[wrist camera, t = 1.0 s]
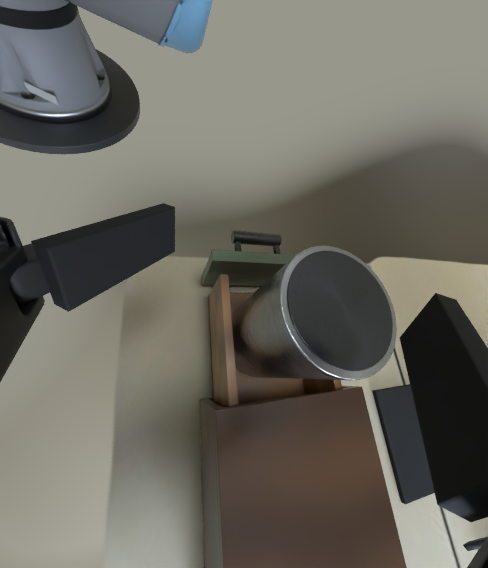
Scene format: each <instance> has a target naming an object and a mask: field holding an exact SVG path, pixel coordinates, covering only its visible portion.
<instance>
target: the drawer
mask: <svg viewBox="0 0 488 568" xmlns="http://www.w3.org/2000/svg"><path fill="white" fill-rule="evenodd" d="M231 241H232V243H235V251H225V250H212V251H211V254H210V256H209V259H208V262H207V264H206V267H205V269H204V272H203V275H202V285H214V287H213V288H212V290H211V292H210V294H209V307H210V328H211V349H212V370H213V391H214V403H216V404H218V405H220V406H222V407H228V406H235V405H241V404H247V403H254V402H260V401H266V400H273V399H279V398H285V397H292V396H298V395H305V394H311V393H317V392H324V391H330V390H336V389H342V385H341V381H340V380H331V379H293V378H259V377H253V376H249V375H247V374H245V373H243V372H241V371H240V370H239V369H238V368H237V367H236V366H235V353H234V341H233V328H232V316H231V314H232V313H233V312H234V311H235V310H236V309H237V308H238V307H239V306H240V305H242V304H243V303H244V302H245V301H246V300H247V299H248V298H249V297H250V296H251V295H253V294H254V293H230V290H229V285H239V286H262V285H264V284H265V283H266V282H267V281H268V280H269V279H270V278H271V277H272V276H274V275H275V274H276V273H277V272H278V271H279V270H280V269H281V268H282V267H283V266H285V265H286V264H287V263H288V262H289V261H290V260H291V259H292V258H293V257H294V256H296V255H286V254H280V249H279V246H280V244H281V236H280V235H276V234H266V233H256V232H246V231H235V230H233V231H232V235H231ZM241 244H249V245H262V246H273V250H274V254H271V253H270V254H269V253H256V252H241Z"/></svg>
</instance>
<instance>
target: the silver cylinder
mask: <svg viewBox="0 0 488 568" xmlns="http://www.w3.org/2000/svg"><path fill="white" fill-rule="evenodd" d="M231 316H232V328H233V341H234V353H235V366H236V367H237V368H238V369H239V370H240V371H241V372H243V373H245V374H247V375H249V376H253V377H259V378H293V379H331V380H360V379H364V378H367V377H370V376H372V375H374V374H375V373H377V372H378V371H380V370H381V369H382V368H383V367H384V366H385V365H386V363H387V362H388V360H389V359H390V357H391V355H392V352H393V349H394V346H395V341H396V330H397V329H396V318H395V313H394V309H393V305H392V303H391V300H390V297H389V295H388V293H387V291H386V289H385V287H384V286H383V284H382V282H381V281H380V279H379V278H378V277H377V275H376V274H375V273H374V272H373V271H372V270H371V269H370V268H369V267H368V266H367V265H366V264H365V263H364V262H363V261H361V260H360V259H359V258H357V257H356V256H355V255H353V254H351V253H349V252H347V251H345V250H342V249H340V248H336V247H331V246H315V247H311V248H308V249H305V250H303V251H301V252H300V253H298V254H297V255H296V256H294V257H293V258H292V259H291V260H290V261H289V262H288V263H287V264H286V265H285V266H283V267H282V268H281V269H280V270H279V271H278V272H277V273H276V274H275V275H274V276H272V277H271V278H270V279H269V280H268V281H267V282H266V283H265V284H264V285H262V286H261V287H260V288H259V289H258V290H257V291H256V292H255V293H254V294H253V295H251V296H250V297H249V298H248V299H247V300H246V301H245V302H244V303H243V304H242V305H240V306H239V307H238V308H237V309H236V310H235V311H234V312H233V313H232V314H231Z"/></svg>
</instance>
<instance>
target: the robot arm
mask: <svg viewBox="0 0 488 568" xmlns="http://www.w3.org/2000/svg"><path fill="white" fill-rule="evenodd" d="M211 4H212V0H0V108H1V109H3V110H5V111H7V112H9V113H11V114H13V115H16V116H19V117H22V118H25V119H28V120H33V121H37V122H43V123H53V124H68V123H77V122H82V121H85V120H89V119H91V118H93V117H95V116H97V115H99V114H100V113H102V112H103V111H104V110H105V109H106V108H107V106H108V105H109V102H110V99H111V90H110V85H109V80H108V76H107V73H106V71H105V68H104V66H103V64H102V62H101V60H100V58H99V56H98V54H97V52H96V49H95V47H94V45H93V43H92V41H91V39H90V37H89V35H88V33H87V31H86V29H85V27H84V25H83V22H82V21H81V18H80V16H79V12H78V8H77V6H79V7H81V8H83V9H85V10H87V11H90V12H92V13H94V14H96V15H98V16H101V17H102V18H105V19H107V20H109V21H111V22H113V23H115V24H118V25H120V26H122V27H124V28H126V29H128V30H130V31H132V32H135V33H137V34H139V35H141V36H143V37H145V38H147V39H150V40H152V41H154V42H156V43H158V44H159V45H160V46H165V45H166V46H168V47H171V48H174V49H176V50H179V51H182V52H185V53H193V52H195V51H197V50H198V49H199V48H200V47H201V45H202V42H203V39H204V35H205V30H206V26H207V22H208V17H209V13H210V9H211ZM31 242H32V244H28V245H25V246H22V243H21V241H20V238H19V236H18V234H17V231H16V228H15V226H14V223H13V222H12V221H11V220H10V219H7V218H2V217H0V381H1V380H2V378H3V376H4V374H5V373H6V371H7V369H8V367H9V365H10V364H11V362H12V360H13V358H14V357H15V355H16V353H17V351H18V350H19V348H20V346H21V344H22V342H23V341H24V339H25V337H26V335H27V334H28V332H29V330H30V328H31V326H32V325H33V323H34V321H35V319H36V317H37V316H38V314H39V312H40V310H41V309H42V307H43V305H44V301H45V300H44V298H43V295H45V294H47V293H49V292H50V293H51V295H52V298H53V301H54V304H56V305H57V306H59V307H61V308H63V309H65V310H67V311H70V310H72V309H74V308H76V307H78V306H79V305H81V304H83V303H85V302H86V301H88V300H90V299H92V298H93V297H95V296H97V295H99V294H100V293H102V292H104V291H106V290H108V289H109V288H111V287H113V286H114V285H116V284H118V283H120V282H122V281H123V280H125V279H127V278H129V277H131V276H132V275H134V274H136V273H138V272H139V271H141V270H143V269H145V268H146V267H148V266H150V265H152V264H153V263H155V262H157V261H159V260H161V259H162V258H164V257H166V256H168V255H169V254H171V253H173V252H174V251H175V207H173V206H170V205H167V204H160V205H156V206H153V207H149V208H146V209H142V210H139V211H135V212H132V213H128V214H125V215H121V216H118V217H114V218H111V219H107V220H104V221H100V222H97V223H93V224H90V225H86V226H83V227H79V228H76V229H72V230H68V231H65V232H61V233H58V234H55V235H51V236H47V237H44V238H40V239H37V240H33V241H31ZM400 341H401V346H402V350H403V354H404V359H405V363H406V368H407V372H408V376H409V381H410V385H411V390H412V394H413V399H414V403H415V407H416V412H417V416H418V421H419V425H420V429H421V434H422V438H423V443H424V447H425V452H426V456H427V460H428V465H429V469H430V474H431V478H432V482H433V487H434V491H435V496H436V500H437V504H438V505H439V506H441V507H443V508H445V509H447V510H449V511H451V512H453V513H454V514H456V515H458V516H460V517H462V518H464V519H466V520H468V521H470V522H473V521H476V520H480V519H483V518H486V517H488V348H487V346H486V345H485V343H484V342H483V340H482V339H481V337H480V336H479V334H478V333H477V331H476V329H475V328H474V326H473V325H472V323H471V322H470V320H469V319H468V317H467V316H466V314H465V313H464V311H463V310H462V308H461V307H460V305H459V304H458V302H457V300H455V299H452V298H449V297H446V296H443V295H440V294H437V293H435V295H434V296H433V297H432V298H431V300H430V301H429V302H428V303H427V305H426V306H425V307H424V308H423V309H422V311H421V312H420V313H419V314H418V316H417V317H416V318H415V319H414V321H413V322H412V323H411V324H410V326H409V327H408V328H407V329H406V331H405V332H404V333H403V334H402V336H401V337H400ZM463 546H464V547H465V548H466V549H467V551H470V550H474V549H478V552H477V553H476V555H475V556H474V558H473V560H472V561H471V563H470V564H469V566H468V567H467V568H488V537H485V538H481V539H477V540H473V541H469V542H467V543H466V544H464V545H463Z"/></svg>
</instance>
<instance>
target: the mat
mask: <svg viewBox="0 0 488 568" xmlns="http://www.w3.org/2000/svg"><path fill="white" fill-rule="evenodd" d="M373 393H374V397H375V401H376V405H377V409H378V413H379V417H380V420H381V424H382V428H383V432H384V436H385V440H386V444H387V447H388V451H389V455H390V459H391V463H392V467H393V471H394V474H395V478H396V482H397V486H398V490H399V494H400V498H401V501H402V503H404V504H407V503H410V502H412V501H415V500H417V499H420V498H422V497H425V496H427V495H430V494H432V493H435V491H434V487H433V482H432V478H431V474H430V469H429V465H428V460H427V456H426V452H425V447H424V443H423V438H422V434H421V429H420V425H419V421H418V416H417V412H416V407H415V403H414V399H413V394H412V390H411V385H404V386H398V387H392V388H386V389H381V390H375V391H373Z"/></svg>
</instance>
